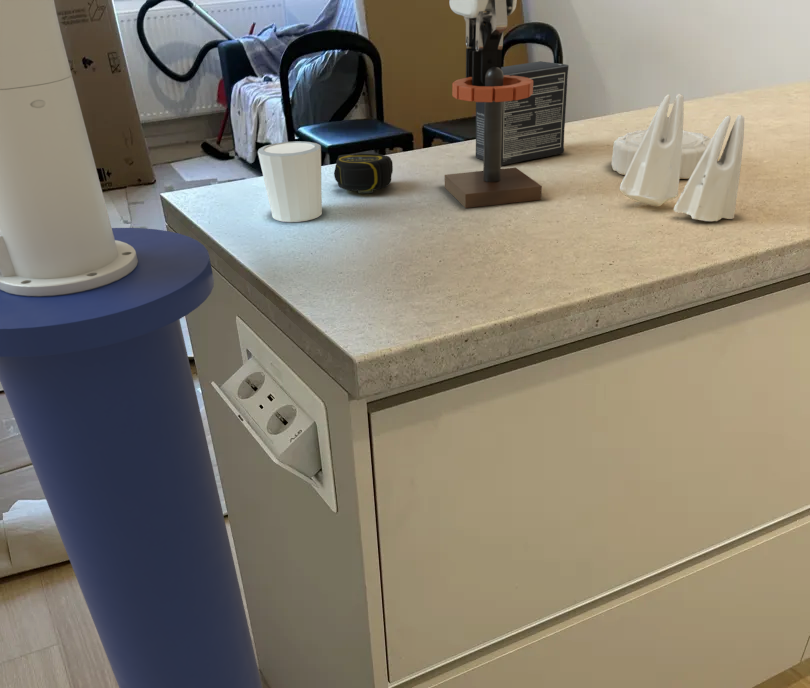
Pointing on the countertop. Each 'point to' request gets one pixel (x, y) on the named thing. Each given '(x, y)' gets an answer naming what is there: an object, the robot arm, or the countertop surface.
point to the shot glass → (292, 180)
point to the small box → (531, 115)
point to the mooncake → (630, 142)
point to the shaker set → (661, 160)
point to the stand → (492, 165)
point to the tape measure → (363, 172)
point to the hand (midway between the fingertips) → (482, 88)
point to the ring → (493, 90)
